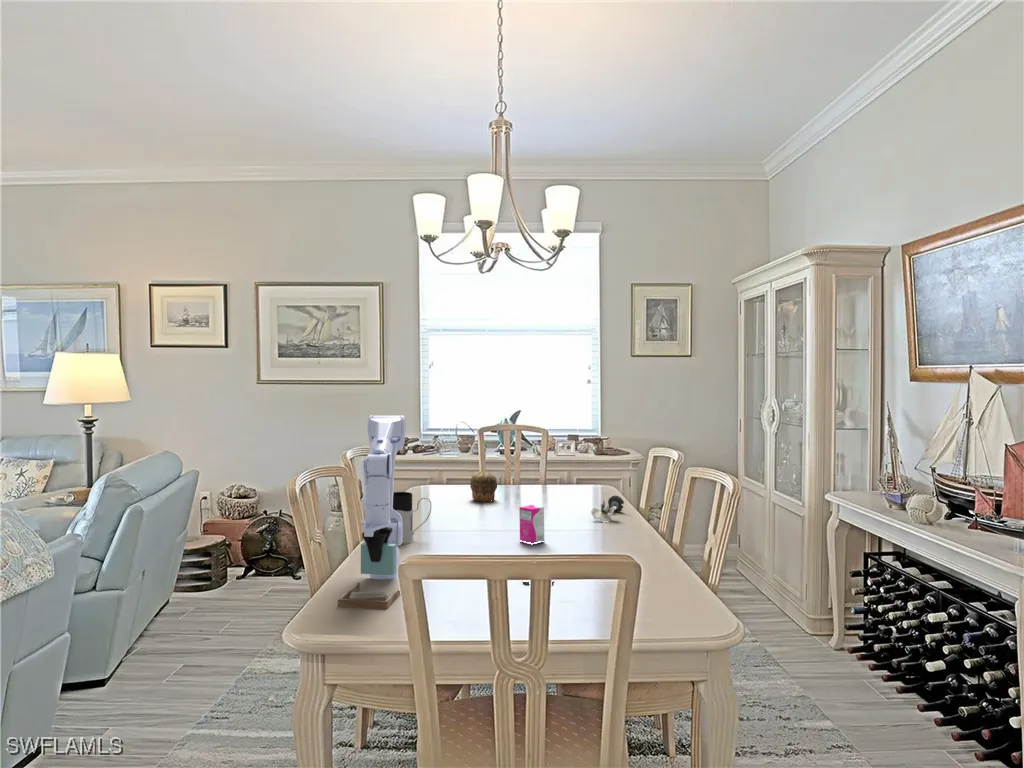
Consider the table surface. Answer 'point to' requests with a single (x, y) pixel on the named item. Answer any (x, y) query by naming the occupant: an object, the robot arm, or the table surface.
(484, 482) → the brown muffin
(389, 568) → the teal board
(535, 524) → the supplement box
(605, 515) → the artificial flower
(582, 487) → the table surface
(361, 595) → the grey offcut
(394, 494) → the glass holder
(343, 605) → the brown shallow rectangular tray
